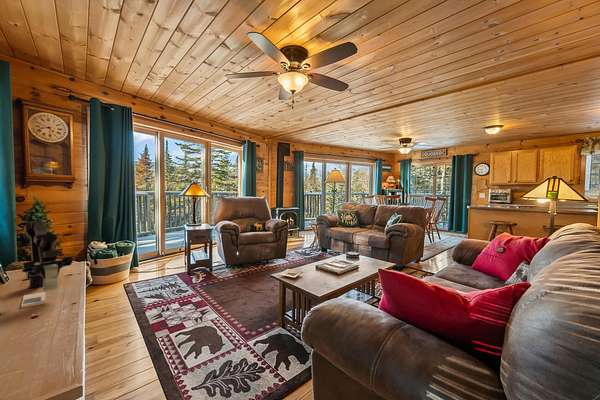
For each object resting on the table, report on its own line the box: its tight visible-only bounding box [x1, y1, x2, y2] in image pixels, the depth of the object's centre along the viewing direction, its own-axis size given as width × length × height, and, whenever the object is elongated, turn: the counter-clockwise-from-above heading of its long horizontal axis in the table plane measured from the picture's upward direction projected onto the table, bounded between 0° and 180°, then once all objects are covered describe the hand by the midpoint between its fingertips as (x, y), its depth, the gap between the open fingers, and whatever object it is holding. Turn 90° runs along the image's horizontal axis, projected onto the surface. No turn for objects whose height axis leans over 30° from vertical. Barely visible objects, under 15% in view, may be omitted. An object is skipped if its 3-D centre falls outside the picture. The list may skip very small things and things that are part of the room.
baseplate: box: [20, 291, 47, 309], centre depth 128 cm, size 16×8×1 cm, turn 45°
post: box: [42, 264, 59, 292], centre depth 129 cm, size 4×4×12 cm
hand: (51, 277), depth 128 cm, fingers closed on post, 4 cm apart
